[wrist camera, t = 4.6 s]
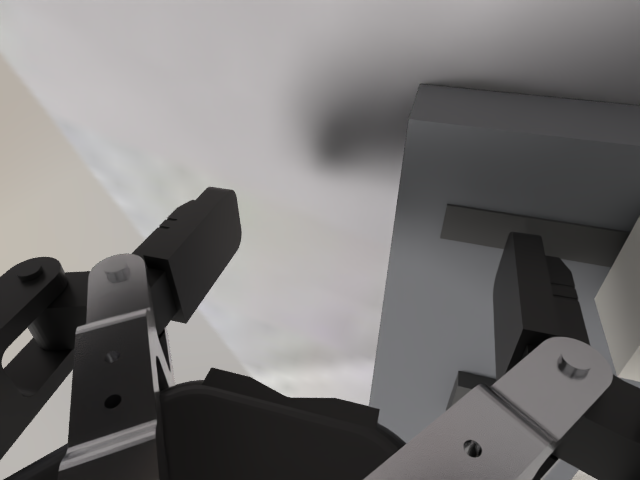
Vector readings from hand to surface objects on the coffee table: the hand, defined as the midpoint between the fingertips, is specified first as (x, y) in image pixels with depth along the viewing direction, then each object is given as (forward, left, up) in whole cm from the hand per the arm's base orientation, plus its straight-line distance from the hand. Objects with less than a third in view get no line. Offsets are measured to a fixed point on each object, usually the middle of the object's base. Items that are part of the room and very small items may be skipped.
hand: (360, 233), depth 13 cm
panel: (+8, +5, -4) cm, 10 cm away
